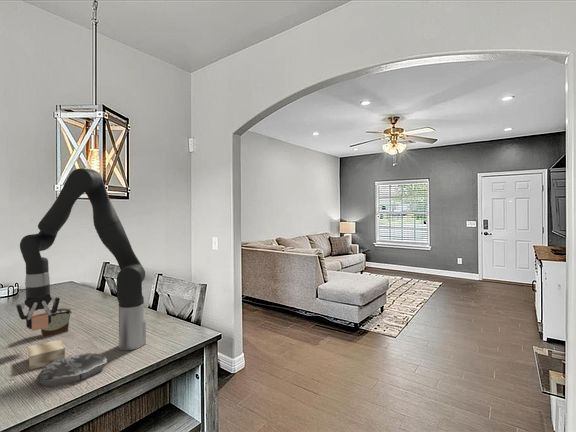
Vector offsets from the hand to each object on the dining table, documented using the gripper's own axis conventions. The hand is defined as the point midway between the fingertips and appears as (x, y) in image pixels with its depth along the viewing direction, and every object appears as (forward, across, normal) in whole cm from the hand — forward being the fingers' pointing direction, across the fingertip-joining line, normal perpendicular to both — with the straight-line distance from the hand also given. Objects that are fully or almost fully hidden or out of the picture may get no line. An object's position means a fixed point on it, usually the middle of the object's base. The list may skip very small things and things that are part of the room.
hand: (39, 326), depth 124 cm
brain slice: (+10, +3, -30) cm, 32 cm away
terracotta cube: (+1, 0, 0) cm, 1 cm away
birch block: (+10, 0, -13) cm, 16 cm away
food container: (+9, +8, +14) cm, 19 cm away
